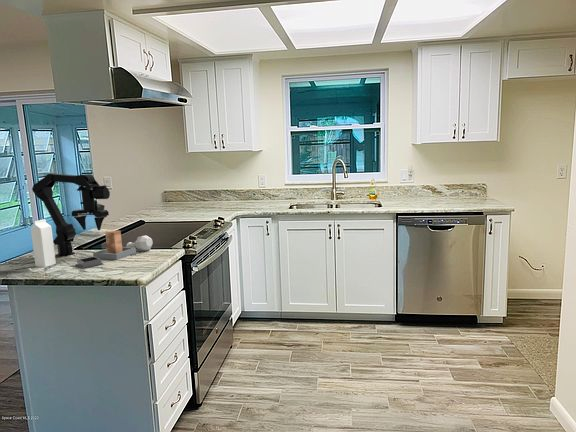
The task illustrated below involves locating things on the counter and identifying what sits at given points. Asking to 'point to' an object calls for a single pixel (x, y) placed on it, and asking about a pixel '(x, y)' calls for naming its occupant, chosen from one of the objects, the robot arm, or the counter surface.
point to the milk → (43, 244)
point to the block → (113, 241)
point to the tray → (104, 255)
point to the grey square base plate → (88, 262)
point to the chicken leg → (141, 243)
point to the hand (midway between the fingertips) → (91, 230)
